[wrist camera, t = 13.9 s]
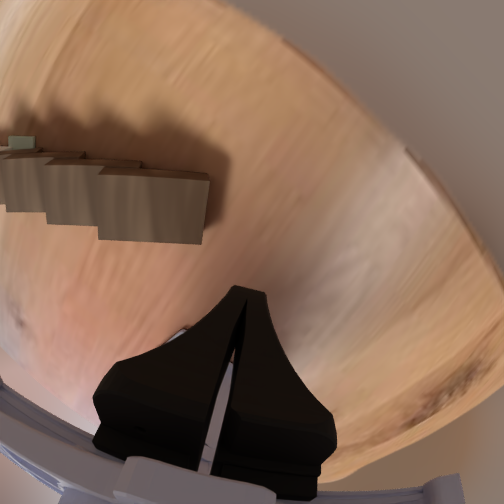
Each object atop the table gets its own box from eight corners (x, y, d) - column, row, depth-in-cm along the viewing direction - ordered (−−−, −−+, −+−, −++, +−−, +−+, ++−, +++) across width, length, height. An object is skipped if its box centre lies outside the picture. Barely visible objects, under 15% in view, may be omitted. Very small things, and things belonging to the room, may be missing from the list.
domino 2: (79, 156, 18) (2, 159, 16) (79, 212, 20) (6, 212, 18) (85, 151, 20) (11, 154, 18) (84, 204, 22) (14, 203, 20)
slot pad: (35, 136, 19) (33, 137, 19) (37, 204, 22) (34, 205, 22) (10, 135, 19) (8, 136, 19) (12, 198, 22) (10, 199, 22)
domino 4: (210, 181, 18) (97, 174, 16) (201, 244, 20) (98, 239, 18) (207, 173, 20) (103, 167, 18) (199, 232, 22) (103, 227, 20)
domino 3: (138, 167, 18) (43, 165, 16) (135, 228, 20) (47, 224, 18) (141, 160, 20) (52, 159, 18) (138, 217, 22) (54, 214, 20)
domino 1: (35, 152, 18) (-28, 158, 16) (37, 202, 20) (-24, 205, 18) (42, 147, 20) (-20, 153, 17) (43, 195, 22) (-16, 198, 19)
